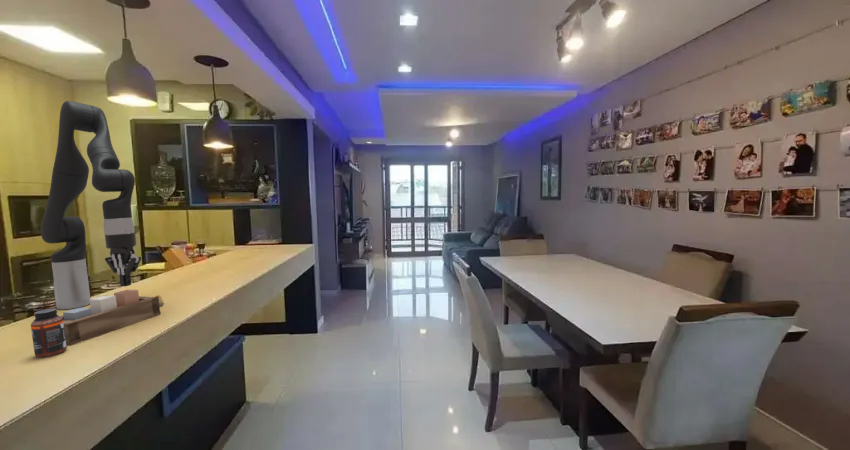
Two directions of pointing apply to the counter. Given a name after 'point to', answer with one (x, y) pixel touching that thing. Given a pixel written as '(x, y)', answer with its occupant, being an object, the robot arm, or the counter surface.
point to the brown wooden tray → (110, 320)
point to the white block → (102, 304)
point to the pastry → (160, 301)
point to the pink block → (126, 297)
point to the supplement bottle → (48, 333)
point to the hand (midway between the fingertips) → (126, 285)
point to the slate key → (77, 313)
